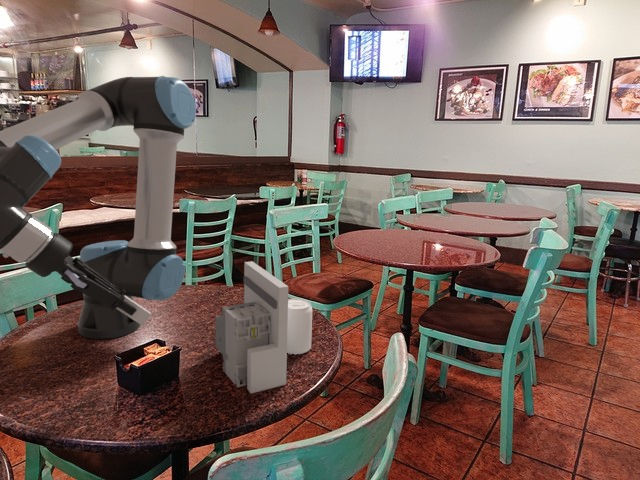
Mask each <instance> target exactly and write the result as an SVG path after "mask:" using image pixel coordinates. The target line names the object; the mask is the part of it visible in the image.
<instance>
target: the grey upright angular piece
mask: <svg viewBox="0 0 640 480" xmlns="http://www.w3.org/2000/svg"><path fill="white" fill-rule="evenodd" d="M243 266H244V271H243V273H244V276H243V284H244V290H243V291H244V292H243V293H244V298H243V299H244V302H243V304H245V303H250V302H255V303H256V304H258V305H259V306H260V307H262V308H263V309H264V310H266V311H267V312H268V313H270V315H269V316H268V319H269V320H270V333H268V345H265V346H260V347H255V348H250V349H247V382H246V383H247V385H246V386H247V388H246V389H247V391H248V392H249V393H250V394H255V393H258V392H263V391H266V390H270V389H274V388H277V387H282V386H285V385H287V371H288V370H287V367H288V366H287V365H288V364H287V362H288V361H287V360H288V354H287V328H288V299H289V286H288V285H287V284H285V283H284V282H283V281H281V280H280V279H279V278H277V277H276V276H274V275H273V274H271V273H270V272H268V271H267V270H266V269H264V268H263V267H261V266H260V265H258V264H257V263H256V262H254V261H252V260H251V261H244V265H243ZM267 328H268V326H267Z"/></svg>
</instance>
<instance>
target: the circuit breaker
mask: <svg viewBox="0 0 640 480" xmlns="http://www.w3.org/2000/svg"><path fill="white" fill-rule="evenodd" d="M221 310H222V314H221V315H216V316H215V318H214V319H215V321H214V322H215V325H214V326H215V327H214V329H215V348H216V349H217V350H218V352H219V353H220V354H221V355H222V360H223V362H222V370H223V372H224V373H225V375H226V376H227V377H228V379H230V381H231V382H232V383H233V384H234V385H236V388H242V387H245V386H247V349H250V348H255V347H260V346H265V345H268V333H270V320H269V319H268V316H269V315H270V313H268V312H267V311H266V310H264V309H263V308H262V307H260V306H259V305H258V304H256V303H255V302H250V303H245V304H244V303H240V304H235V305H231V306H223V307H222V309H221ZM267 326H268V328H267Z"/></svg>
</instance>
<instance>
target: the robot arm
mask: <svg viewBox="0 0 640 480" xmlns="http://www.w3.org/2000/svg"><path fill="white" fill-rule="evenodd" d="M195 101H196V100H195V97H194V94H193V93H192V91H191V89H190V88H189V86H188V85H187V84H186V83H185V82H184V81H183V80H181V79H180V78H178V77H174V76H173V77H171V76H165V75H160V76H126V77H125V76H123V77H119V78H116V79H113V80H111V81H108V82H104V83H103V84H99V85H98V86H94V87H93V88H90V89H88V90H85V91H83V92H81V93H80V94H79V97H78V99H76V100H72V101H71V102H68V103H66V104H64V105H61V106H58V107H56V108H54V109H51V110H49V111H47V112H44V113H41V114H39V115H37V116H34V117H31V118H28V119H26V120H23V121H22V122H20V123H17V124H15V125H12V126H9V127H7V128H4V129H2V130H0V251H1V252H2V256H3V258H5V259H7V258H9V257H10V258H11V259H13V260H15V261H16V262H18V263H19V264H22V263H25V265H24V266H25V268H26V269H28V270H30V271H31V272H33V273H35V274H36V275H38V276H40V277H41V278H47V277H48V276H50V275H51V274H52V273H54V272H55V273H58V274H59V275H60V276H61V277H60V278H61V280H62V281H63V282H65V283H67V284H71V285H70V287H71V288H72V289H73V290H75V291H76V292H80V293H82V297H83V304H82V308H81V312H80V315H79V318H78V322H77V329H78V330H77V331H78V334H79V335H80V336H82V337H84V338H87V339H92V340H94V339H95V340H106V339H107V340H108V339H115V338H119V337H123V336H127V335H129V334H131V333H133V332H135V331H136V330H138V329H139V328H140V327H141V326H144V324H145V323H146V322H147V321H148V320H149V319H150V317H151V316H152V313H151V312H150V311H149V310H148V309H146V308H144V307H143V306H142V305H140V304H139V303H138V302H136V301H135V299H134V298H140V299H144V300H147V301H158V302H164V301H166V300H169V299H170V298H172V297H173V296H175V294H176V293H177V291H178V290H180V288H181V286H182V284H183V281H184V278H185V274H186V266H185V262H184V260H183V259H182V257H181V256H179V255H177V245H176V244H175V243H174V242H173V241H172V239H171V238H172V227H173V226H172V224H173V211H174V196H175V195H174V193H175V182H176V181H175V179H176V176H175V175H176V165H177V163H176V162H177V149H178V143H179V142H180V141H182V140H183V139H184V137H185V130H186V129H188V128H190V127H192V125H193V123H194V122H195V119H196V115H197V110H196V109H197V108H196V102H195ZM125 126H127V127H128V126H132V127H133V132H134V133H135V134H136V136H137V137H138V139H139V147H138V160H137V161H138V162H137V165H138V166H137V180H136V181H137V182H136V195H135V196H136V198H135V210H134V211H135V214H134V226H133V227H134V230H133V238H132V239H131V240H129V241H127V240H125V239H123V240H122V239H119V240H118V239H117V240H116V239H115V240H108V241H102V242H96V243H95V242H94V243H91V244H89V245H85V246H83V247H82V248H81V250H80V253H79V257H77V256H76V257H75V258H74V257H72V256H71V255H70V254H71V252H72V250H73V247H74V246H73V243H72V242H71V241H70V240H69V239H66V237H64V236H63V235H61V234H60V233H58V232H54V233H53V229H52V227H50V226H48V225H47V224H46V223H44V222H43V221H41V220H40V219H39V218H37V217H36V216H35V215H33V214H31V213H30V212H28V211H27V210H26V209H24V207H25V206H26V205H27V204H28V203H29V201H30V200H31V199H32V198H33V197H34V196H35V195H36V194H37V193H38V192H39V191H40V190H41V189H42V188H44V186H45V185H46V184H47V183H48V182H49V181H50V180H51V179H52V178H53V175H55V173H56V172H57V171H58V170H59V168H60V167H61V165H62V157H61V155H60V153H59V152H58V151H57V150H58V149H61V148H64V147H65V146H68V145H69V144H71V143H73V142H75V141H77V140H79V139H81V138H84V137H85V136H87V135H89V134H93V132H95V131H101V132H104V131H108V130H110V129H112V128H115V127H116V128H117V127H125ZM133 297H134V298H133Z"/></svg>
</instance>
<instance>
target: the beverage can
mask: <svg viewBox="0 0 640 480" xmlns="http://www.w3.org/2000/svg"><path fill="white" fill-rule="evenodd" d="M312 324H313V307H312V304H311V302H310V301H309V300H307V299H304V298H297V297H296V298H288V328H287V353H288V354H287V355H292V354H294V356H295V355H297V354H298V355H303V354H304V353H305V354H306V353H307V352H309V351H310V350H311V348H312V333H313V332H312V331H313V325H312ZM298 355H297V356H298Z"/></svg>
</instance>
